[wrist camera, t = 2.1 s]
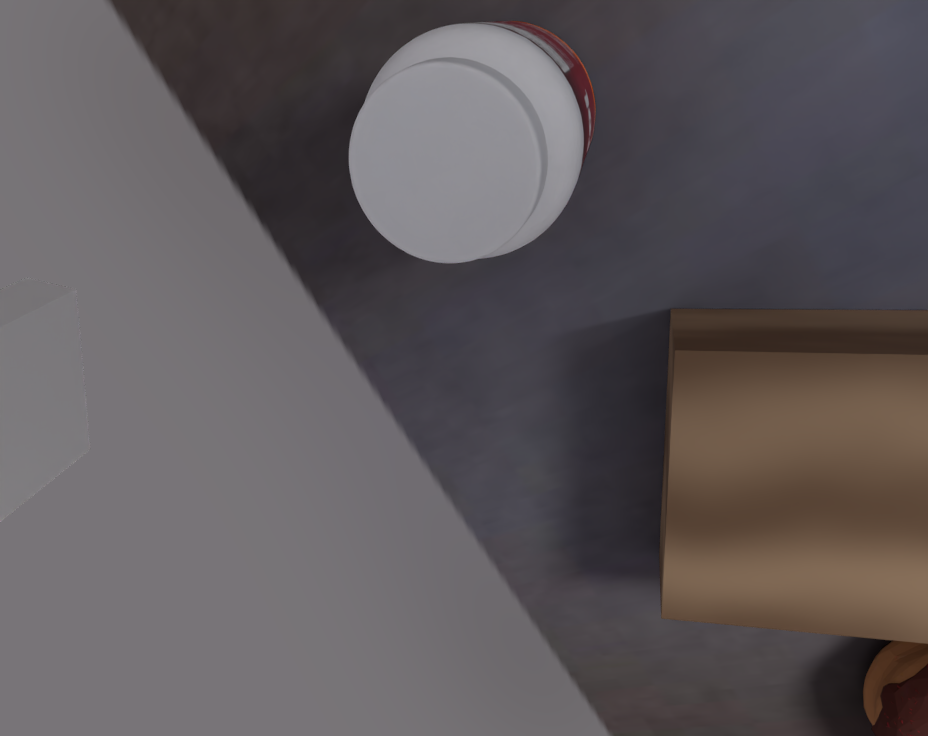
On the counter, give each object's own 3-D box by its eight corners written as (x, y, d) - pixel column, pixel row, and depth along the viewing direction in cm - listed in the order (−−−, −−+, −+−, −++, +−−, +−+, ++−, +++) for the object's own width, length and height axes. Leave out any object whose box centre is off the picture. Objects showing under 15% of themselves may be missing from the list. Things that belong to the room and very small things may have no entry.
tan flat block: (670, 308, 29) (675, 350, 25) (1022, 310, 26) (1082, 357, 23) (659, 555, 34) (661, 618, 30) (953, 577, 31) (993, 649, 28)
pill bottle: (546, 227, 29) (498, 339, 19) (404, 151, 28) (282, 225, 19) (631, 70, 26) (625, 108, 16) (473, -15, 26) (370, -29, 16)
